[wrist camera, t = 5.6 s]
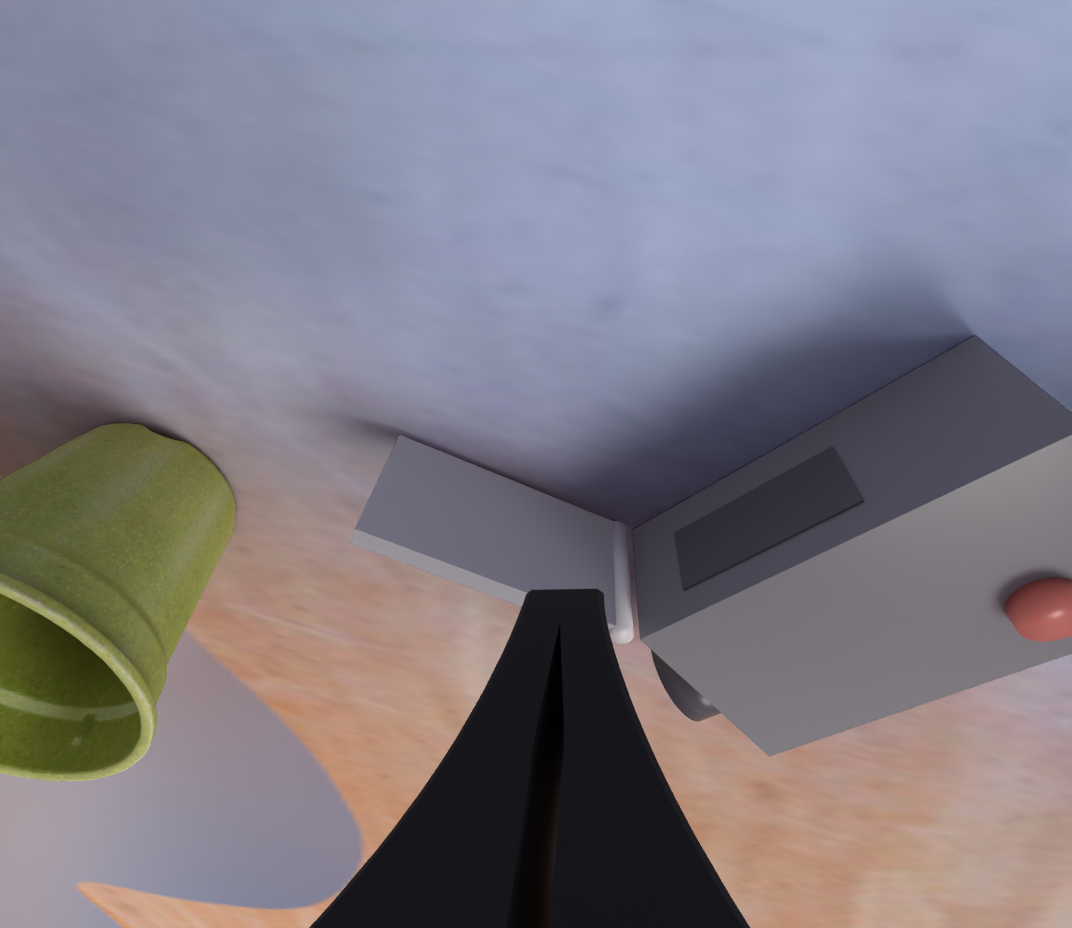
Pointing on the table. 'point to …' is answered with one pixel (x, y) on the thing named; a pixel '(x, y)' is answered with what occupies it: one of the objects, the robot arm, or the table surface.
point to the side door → (493, 533)
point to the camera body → (870, 558)
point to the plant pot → (99, 594)
